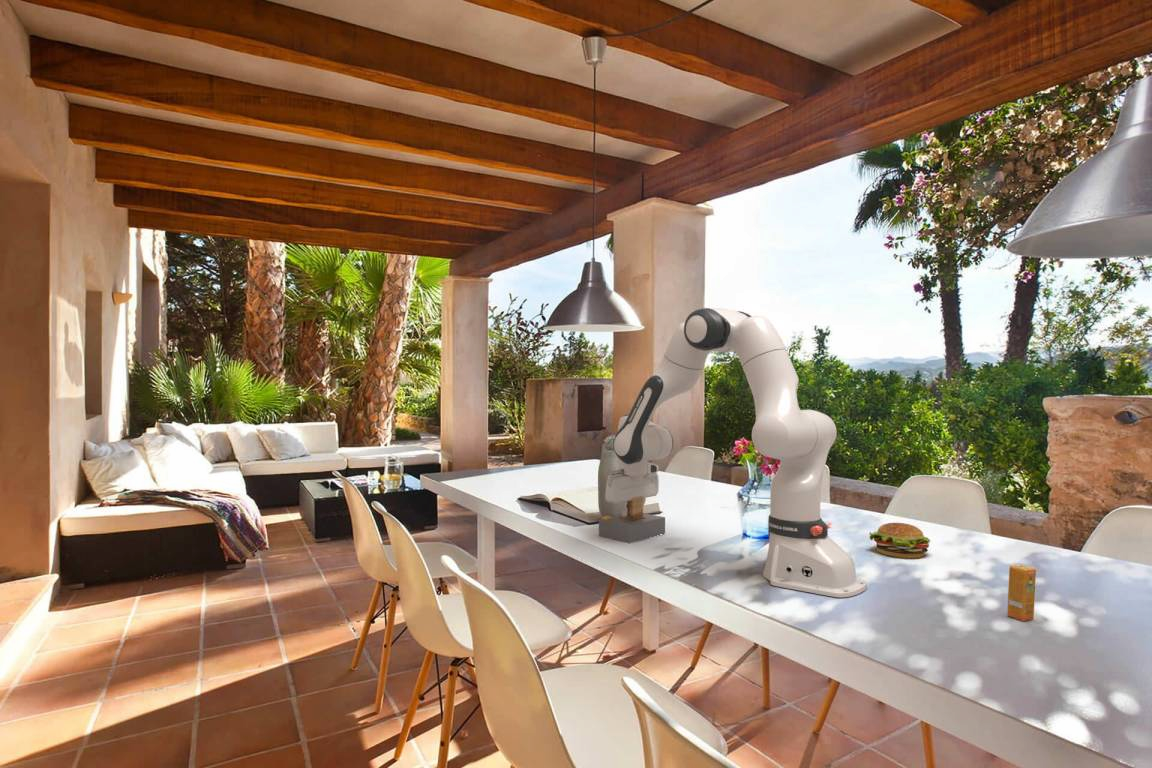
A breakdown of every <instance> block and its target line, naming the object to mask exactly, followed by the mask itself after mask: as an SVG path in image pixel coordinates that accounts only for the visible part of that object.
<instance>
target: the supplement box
mask: <svg viewBox="0 0 1152 768" xmlns="http://www.w3.org/2000/svg"><path fill="white" fill-rule="evenodd" d="M1008 569H1009V571H1008V572H1009V573H1008V574H1009V575H1008V591H1007V592H1008V593H1007V616H1008V617H1010V618H1012V619H1015V620H1018V621H1020V622H1026V621H1031V620H1034V619H1035V618H1034V616H1035V613H1034V612H1035V596H1036V595H1035V593H1036V580H1037V579H1036V575H1037V569H1036V568H1034V567H1031V566H1028V565H1025V564H1021V563H1019V564H1015V565H1010V566H1009V568H1008Z"/></svg>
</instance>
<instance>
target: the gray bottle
mask: <svg viewBox="0 0 1152 768" xmlns="http://www.w3.org/2000/svg"><path fill="white" fill-rule="evenodd" d="M615 436H616V434H612V435H608V436H606V437H605V438H604V439H603V441H602V445H601V455H600V460H599V465H598V471H597V492H598V493H597V502H598V504H597V505H598V510H599V514H600V516H601V518H602V517H605V516H610V517H611V516H615V515H620V514H622V510H621V508H620V506H619V503H609V502H607V501H606V499H605V492H606V484H607V480H608V475H609V474H610V473H611V471H617V470H618V457H617V455H616V453H615V451H614V447H613V443H614V438H615ZM611 475H612V474H611Z"/></svg>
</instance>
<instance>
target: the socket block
mask: <svg viewBox="0 0 1152 768" xmlns="http://www.w3.org/2000/svg"><path fill="white" fill-rule="evenodd" d="M664 533H665V534H666V516H661V515H660V516H659V515H656V514H651V513H644V512H643V519H641V520H636V521H630V520H625V519H622V514H620V515H615V516H611V517H610V516H605V517H602V516H601V518H598V536H599V537H603V538H607V539H610V540H615V541H618V540H619V541H618V542H622V541H623V543H626V542H628V543H627V544H632V543H636V542H640V541H644V540H646V538H648V539H651V538H650V537H652V538H655V537H654V536H656V537H658V536H657V535H659V536H661V535H660V534H663V535H665V534H664ZM643 539H644V540H643ZM639 540H640V541H639ZM635 541H636V542H635ZM631 542H632V543H631Z"/></svg>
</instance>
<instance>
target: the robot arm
mask: <svg viewBox="0 0 1152 768" xmlns="http://www.w3.org/2000/svg"><path fill="white" fill-rule="evenodd" d="M711 352H718V353H732V352H733V353H734V352H735V353H736V355H737V357H738V359H739V361H740V364H741V367H742V369H743V372H744V375H745V377H746V380H747V382H748V384H749V388H750V390H751V393H752V396H753V401H754V409H755V422H754V425H753V427H752V430H751V440H752V444H753V446H754V448H755V449H756V451H757V452H758V453H760V454H761V455H762V456H763V457H767V458H770V459H775V460H779V461H780V462H779V465H778V469H777V471H776V473H775V475H774V476H773V478H771V482H770V493H769V494H770V504H769V506H770V510H769V511H770V514H769V515H768V521H767V522H768V524H767V526H768V527H767V532H768V538H769V540H768V549H767V556H766V562H765V565H764V569H763V572H762V576H763V577H764V578H765V579H766V580H768V581H769V584H770V585H772V586H774V587H778V588H785V589H789V590H796V591H800V592H807V593H811V594H817V595H822V596H827V597H828V596H829V597H833V598H849V597H853V596H856V595H859V594H862V593H863V592H864V591H865V590H866V589H867V587H868V585H867V581H866V580H865V579H862V578H859V577H857V573H856V572H857V571H856V566H855V562H854V560H853V557H852V556H851V555H850V554H849V553H848V552H846V551H845V550H844V549H843V548H842V547H841V546H840V545H838V544H837V543H836V542H835V541H834V540H833V539H832V538H831V537H830V536H829V533H828V530H829V529H831V528H832V526H831V525H832V523H831V522H830V523H825V521H824V520H823V519H822V518H821V492H822V491H821V489H822V480H823V475H824V472H825V471H824V470H825V467H826V464H827V463H826V462H827V458H828V456H829V452H830V451H831V450H830V449H831V447H832V446H833V445H834V444H835V442H836V440H837V433H838V432H837V427H836V424H835V422H834V420H833V419H832V418H831V417H830V416H828V415H827V414H825V413H823V412H820V411H818V410H813V409H801V408H800V406H799V400H798V395H797V389H798V386H799V381H800V380H799V376H798V374H797V372H796V370H795V367H794V364H793V361H792V359H791V357H790V356H789V352H788V350H787V348H786V346H785V344H784V342H783V340H782V337H781V336H780V334H779V332H778V331H777V329H776V328H775V327H774V325H773V323H772V322H771V320H769V318H767V317H765V316H764V315H763V316H762V315H751V314H748V313H747V312H744V311H736V310H732V309H727V308H721V307H719V308H710V307H705V308H704V307H703V308H699V309H696V310H694V311H692V312H691V313H689V315H688V316H687V317H686V319H685V321H684V322H682V323H680V324H679V325H678V326H677V328H676V329H675V331H674V332H673V334H672V336H671V338H670V340H669V342H668V345H667V347H666V349H665V352H664V355H663V358H662V359H661V361H660V363H659V365H658V366H657V368H656V370H655V371H654V373H653V374H652V375H651V376H650V377H649V378H648V379H647V380H646V381H645V383H644V385H643V386H642V388H641V389H640V391H639V394H638V396H637V398H636V399H635V402H634V403H633V406H632V408H631V409H630V411H629V413H628V414H624V415H622V416H621V417H620V419H619V420H618V421H619V422H618V427H617V432H616V434H615V435H616V436H615V438H614V443H613V447H614V451H615V453H616V455H617V457H618V470H617V471H611V473H610V474H609V475H608V480H607V484H606V492H605V499H606V501H607V502H609V503H619V506H620V508H621V510H622V516H625V517H626V516H629V515H630V514H629V513H630V510H628V509H627V507H626V505H627V501H631V500H632V498H636V497H641V496H643V507H644V506H645V503H646V500H647V499H646V498H652V497H657V495H658V494H659V487H660V486H659V485H660V483H659V482H660V481H659V475H658V473H659V470H660V469H659V465H658V464H655V463H652V461H655V460H656V461H657V460H661V459H662V460H663V459H665V458H668V457H669V456H670V455H671V453H672V451H673V450H674V449H673V448H674V439H673V435H672V433H671V431H670V430H669V429H668V428H666V427H665V426H661V425H659V424H656V423H654V422H652V418H653V417H654V414H655V412H656V411H657V409H658V408H660V406H661V405H662V404H663V403H665V402H666V401H668V400H670V399H673V398H674V397H676V396H679V395H683V394H685V393H687V392H689V391H690V390H691V389H693V388H694V387H695V385H696V384H697V382H698V381H699V378H700V377H701V375H702V371H703V369H704V366H705V364H706V360H707V358H708V356H709V354H710V353H711ZM649 461H651V462H649ZM611 474H612V475H611Z"/></svg>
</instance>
